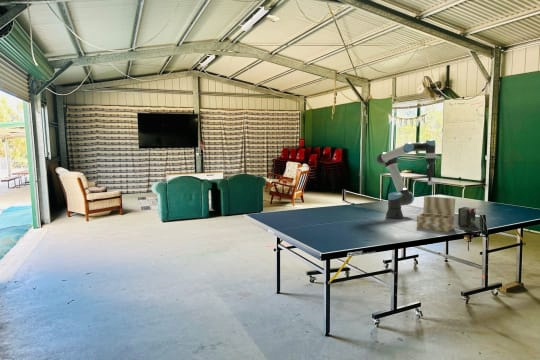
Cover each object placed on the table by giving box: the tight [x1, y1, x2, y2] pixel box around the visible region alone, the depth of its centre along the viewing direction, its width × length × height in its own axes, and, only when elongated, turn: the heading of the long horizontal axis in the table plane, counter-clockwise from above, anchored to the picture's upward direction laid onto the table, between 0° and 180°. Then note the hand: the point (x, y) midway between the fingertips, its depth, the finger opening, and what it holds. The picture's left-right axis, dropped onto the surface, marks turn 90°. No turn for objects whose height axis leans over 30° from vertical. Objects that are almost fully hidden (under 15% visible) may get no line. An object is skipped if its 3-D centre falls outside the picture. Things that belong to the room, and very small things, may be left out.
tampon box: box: [457, 206, 477, 228], centre depth 291 cm, size 11×9×15 cm
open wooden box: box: [416, 213, 455, 233], centre depth 286 cm, size 24×14×10 cm, turn 47°
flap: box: [423, 195, 456, 217], centre depth 290 cm, size 24×14×1 cm
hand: (429, 184), depth 309 cm, fingers closed
